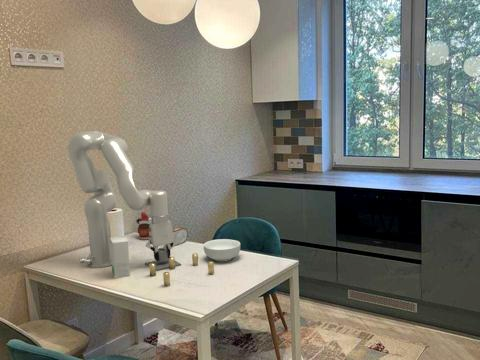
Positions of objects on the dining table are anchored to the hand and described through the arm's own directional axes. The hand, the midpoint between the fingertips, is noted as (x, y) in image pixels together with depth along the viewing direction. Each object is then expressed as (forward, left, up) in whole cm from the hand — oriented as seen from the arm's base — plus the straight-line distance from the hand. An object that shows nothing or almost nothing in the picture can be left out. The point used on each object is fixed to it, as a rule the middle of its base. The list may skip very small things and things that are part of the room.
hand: (162, 258), depth 207 cm
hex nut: (0, 0, -1) cm, 1 cm away
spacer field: (+1, -16, -3) cm, 16 cm away
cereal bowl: (+25, -10, -3) cm, 27 cm away
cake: (+12, +47, -3) cm, 49 cm away
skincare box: (-19, 0, -3) cm, 19 cm away
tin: (+19, +25, -3) cm, 32 cm away
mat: (0, 0, -3) cm, 3 cm away
